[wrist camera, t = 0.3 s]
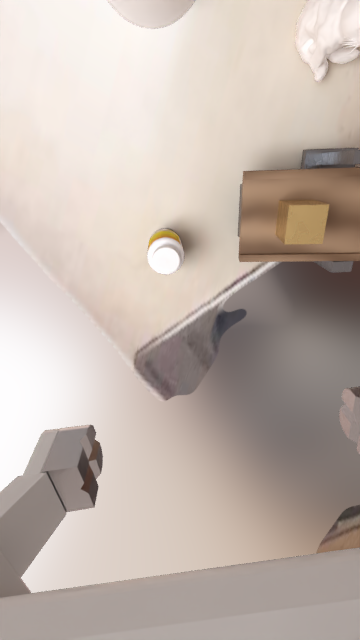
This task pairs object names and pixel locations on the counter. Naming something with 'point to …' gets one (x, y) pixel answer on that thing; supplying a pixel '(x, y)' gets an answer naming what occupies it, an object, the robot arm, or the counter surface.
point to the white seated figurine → (328, 33)
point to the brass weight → (301, 221)
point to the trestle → (320, 161)
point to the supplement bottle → (165, 252)
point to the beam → (300, 184)
